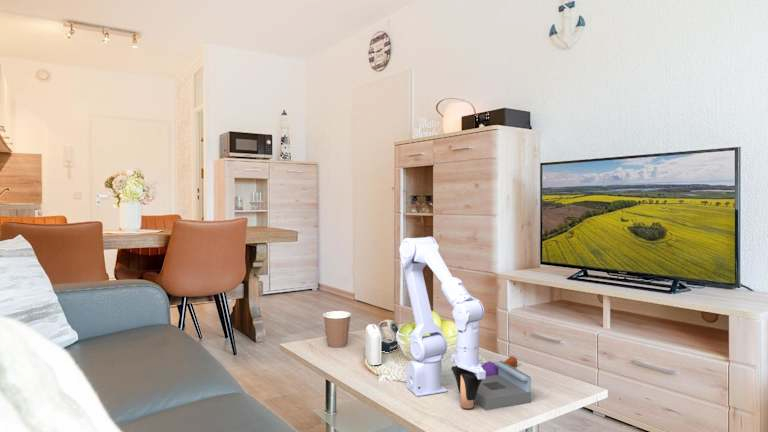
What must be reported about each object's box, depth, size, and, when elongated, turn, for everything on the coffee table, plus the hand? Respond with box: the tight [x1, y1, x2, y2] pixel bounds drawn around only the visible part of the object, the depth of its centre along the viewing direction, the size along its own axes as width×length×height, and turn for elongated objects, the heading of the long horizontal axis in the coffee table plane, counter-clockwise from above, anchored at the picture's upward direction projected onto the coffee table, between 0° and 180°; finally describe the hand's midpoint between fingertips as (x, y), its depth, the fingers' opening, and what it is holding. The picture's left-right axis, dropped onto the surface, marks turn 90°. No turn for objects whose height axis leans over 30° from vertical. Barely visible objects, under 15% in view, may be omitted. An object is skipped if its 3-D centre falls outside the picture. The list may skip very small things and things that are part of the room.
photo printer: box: [364, 323, 382, 366], centre depth 169 cm, size 10×4×12 cm, turn 13°
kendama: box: [481, 355, 518, 376], centre depth 158 cm, size 6×6×20 cm
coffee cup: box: [322, 310, 352, 350], centre depth 185 cm, size 10×10×12 cm
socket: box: [474, 360, 532, 411], centre depth 140 cm, size 14×14×7 cm
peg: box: [459, 374, 475, 409], centre depth 133 cm, size 4×4×8 cm
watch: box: [377, 319, 400, 352], centre depth 181 cm, size 6×8×11 cm
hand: (467, 396), depth 133 cm, fingers closed on peg, 3 cm apart
